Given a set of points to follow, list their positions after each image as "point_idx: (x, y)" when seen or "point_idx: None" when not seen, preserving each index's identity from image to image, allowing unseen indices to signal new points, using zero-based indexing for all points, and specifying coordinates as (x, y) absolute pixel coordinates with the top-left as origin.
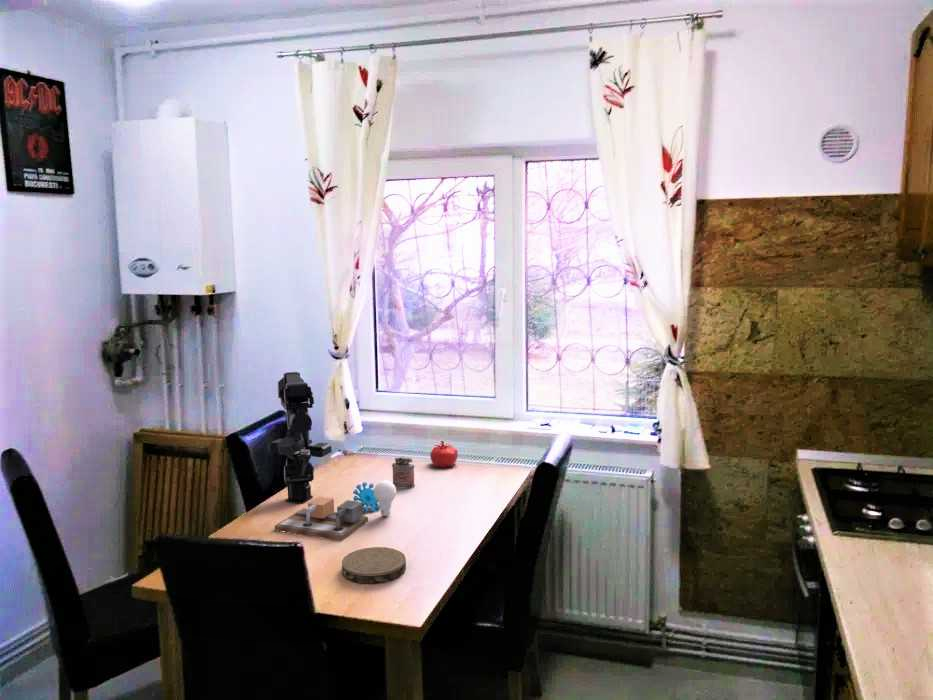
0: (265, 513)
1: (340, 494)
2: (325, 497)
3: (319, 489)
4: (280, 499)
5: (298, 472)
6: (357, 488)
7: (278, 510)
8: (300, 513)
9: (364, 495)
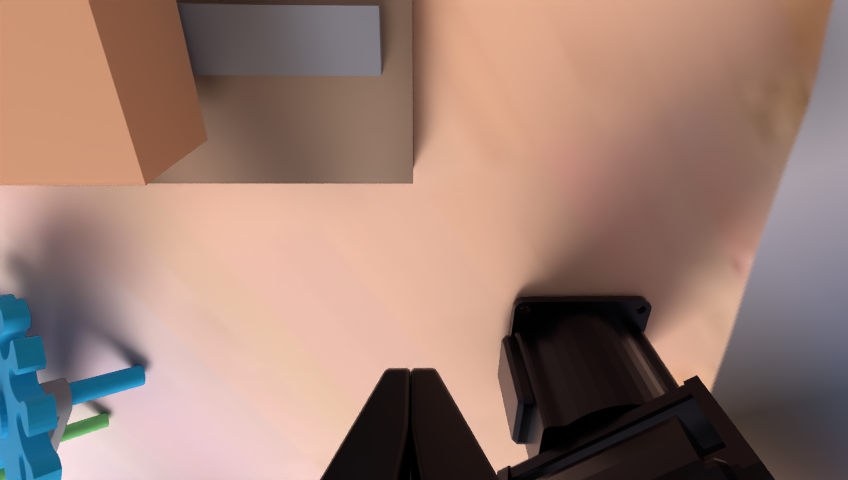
0: (710, 60)
1: None
2: (52, 181)
3: None
4: (692, 318)
5: (442, 405)
6: (50, 453)
7: (627, 151)
8: (319, 6)
9: (8, 406)
